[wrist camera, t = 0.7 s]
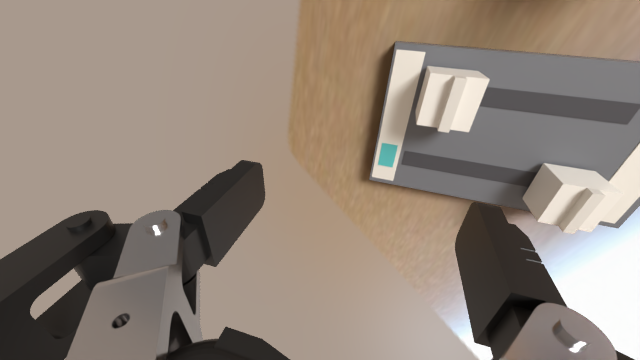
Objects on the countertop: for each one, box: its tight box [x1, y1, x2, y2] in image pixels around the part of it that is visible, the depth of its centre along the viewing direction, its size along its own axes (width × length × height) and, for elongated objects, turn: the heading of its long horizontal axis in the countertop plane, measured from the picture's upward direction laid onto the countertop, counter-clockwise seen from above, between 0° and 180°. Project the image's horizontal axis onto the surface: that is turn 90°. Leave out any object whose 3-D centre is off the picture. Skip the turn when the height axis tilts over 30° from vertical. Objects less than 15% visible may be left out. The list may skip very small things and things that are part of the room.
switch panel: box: [369, 41, 640, 228], centre depth 24 cm, size 14×24×2 cm, turn 87°
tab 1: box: [415, 66, 490, 133], centre depth 21 cm, size 4×4×4 cm
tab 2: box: [522, 163, 624, 234], centre depth 22 cm, size 4×4×4 cm
